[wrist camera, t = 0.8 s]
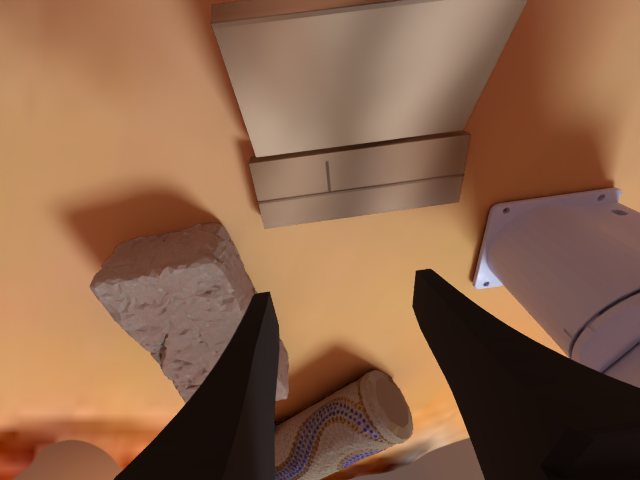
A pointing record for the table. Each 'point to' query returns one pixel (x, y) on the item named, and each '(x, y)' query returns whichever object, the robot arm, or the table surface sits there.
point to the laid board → (360, 178)
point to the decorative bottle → (342, 429)
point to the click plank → (358, 67)
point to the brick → (181, 300)
